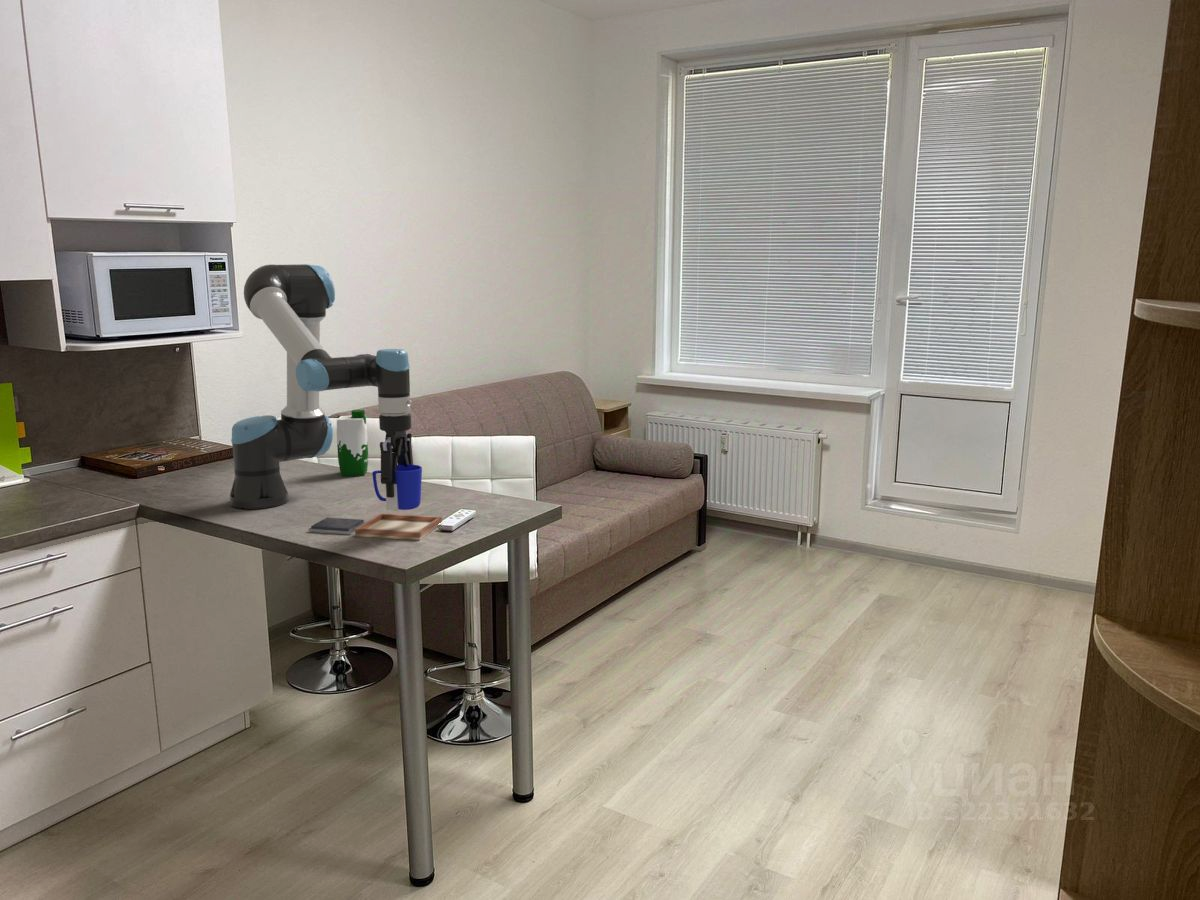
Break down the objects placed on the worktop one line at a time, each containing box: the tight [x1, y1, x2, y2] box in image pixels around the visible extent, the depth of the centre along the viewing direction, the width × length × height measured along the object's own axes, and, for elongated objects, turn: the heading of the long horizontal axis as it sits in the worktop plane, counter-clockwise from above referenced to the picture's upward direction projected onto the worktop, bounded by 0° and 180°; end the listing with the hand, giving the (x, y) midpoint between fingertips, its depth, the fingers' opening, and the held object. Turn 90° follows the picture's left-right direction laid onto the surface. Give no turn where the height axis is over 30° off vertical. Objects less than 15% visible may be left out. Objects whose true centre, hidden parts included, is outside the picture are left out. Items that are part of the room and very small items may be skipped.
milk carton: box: [336, 409, 369, 477], centre depth 285 cm, size 9×9×20 cm
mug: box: [371, 464, 423, 511], centre depth 223 cm, size 8×12×10 cm
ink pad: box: [308, 517, 366, 535], centre depth 227 cm, size 11×9×1 cm
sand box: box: [354, 512, 443, 541], centre depth 225 cm, size 17×15×2 cm
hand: (398, 505), depth 224 cm, fingers closed on mug, 7 cm apart
